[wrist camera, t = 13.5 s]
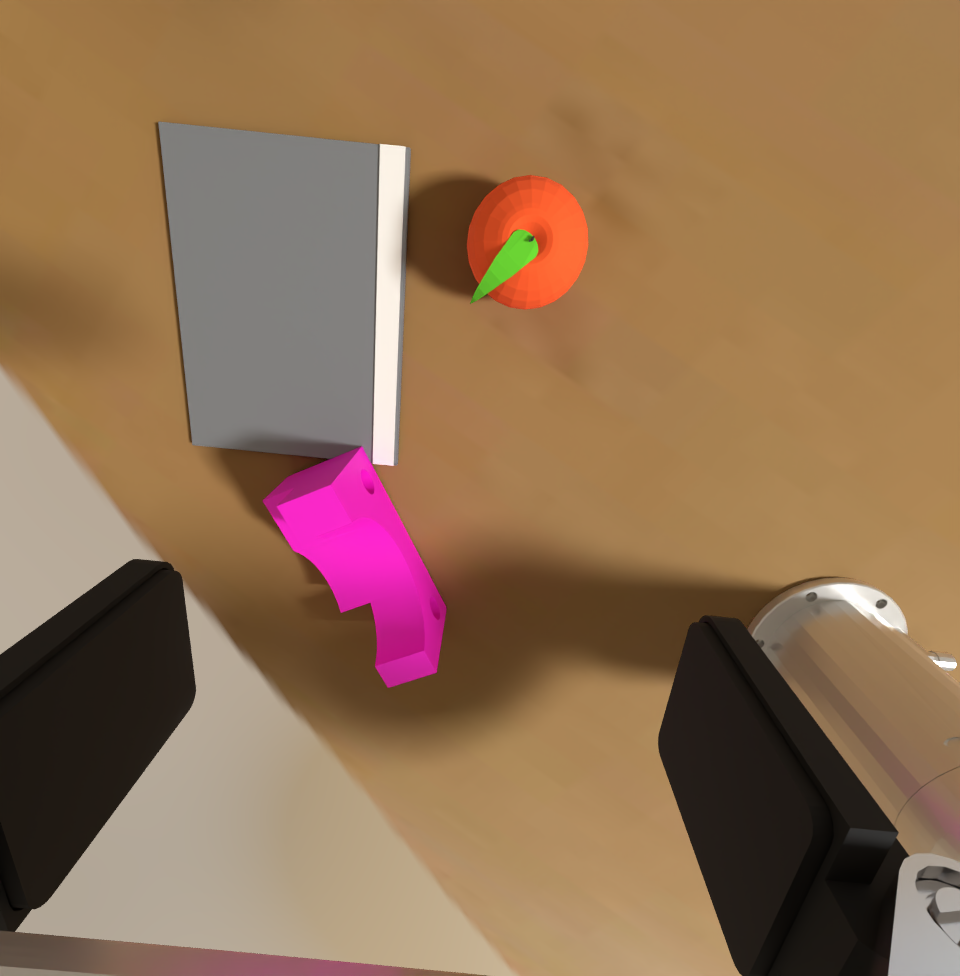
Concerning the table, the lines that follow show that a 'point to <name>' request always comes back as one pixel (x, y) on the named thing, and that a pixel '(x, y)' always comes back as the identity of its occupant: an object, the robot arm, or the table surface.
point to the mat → (289, 288)
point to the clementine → (527, 242)
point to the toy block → (365, 558)
